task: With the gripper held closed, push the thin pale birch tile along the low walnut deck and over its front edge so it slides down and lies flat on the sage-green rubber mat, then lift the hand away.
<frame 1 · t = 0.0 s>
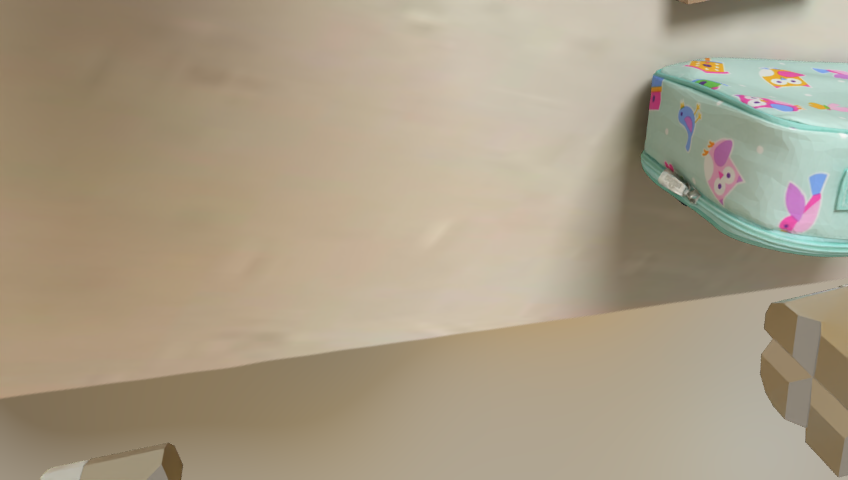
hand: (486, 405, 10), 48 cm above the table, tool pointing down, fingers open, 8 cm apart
lunch box: (755, 112, 64), on the table
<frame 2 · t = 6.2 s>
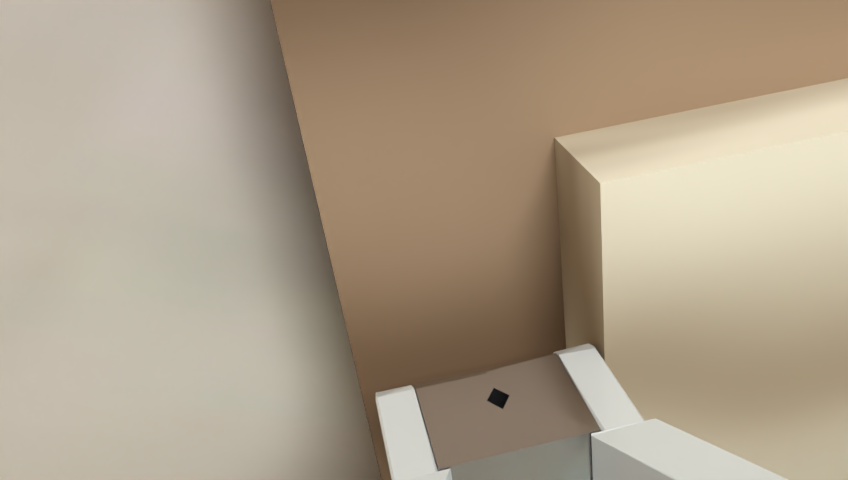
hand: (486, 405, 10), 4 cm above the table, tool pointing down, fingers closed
walnut deck: (669, 212, 13), on the table
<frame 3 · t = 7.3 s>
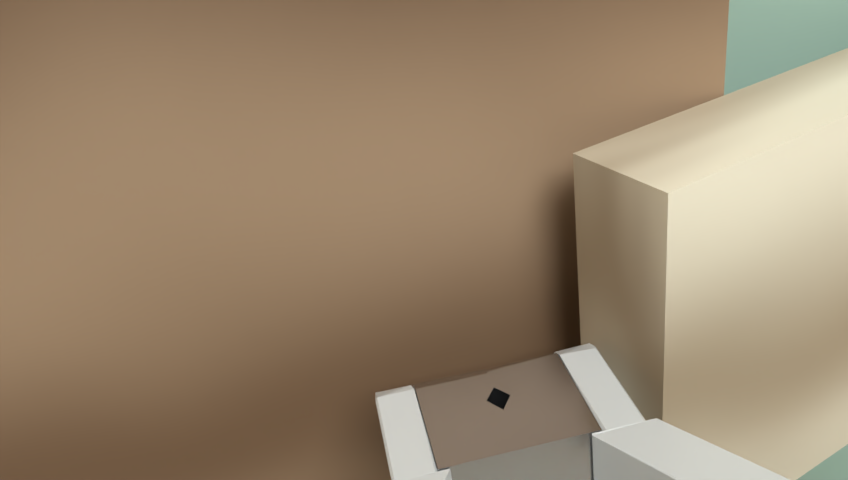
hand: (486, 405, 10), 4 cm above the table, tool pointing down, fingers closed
birch tile: (844, 259, 11), point 3 cm above the table, tilted 19°, touching gripper
walnut deck: (309, 288, 13), on the table
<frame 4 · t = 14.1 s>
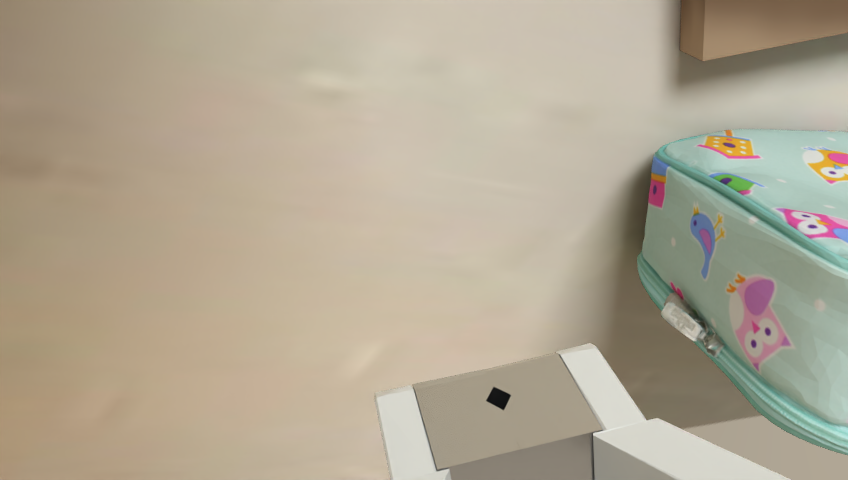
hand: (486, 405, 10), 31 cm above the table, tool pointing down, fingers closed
lunch box: (790, 195, 48), on the table
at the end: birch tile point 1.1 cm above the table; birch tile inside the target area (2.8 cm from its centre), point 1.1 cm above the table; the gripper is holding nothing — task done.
